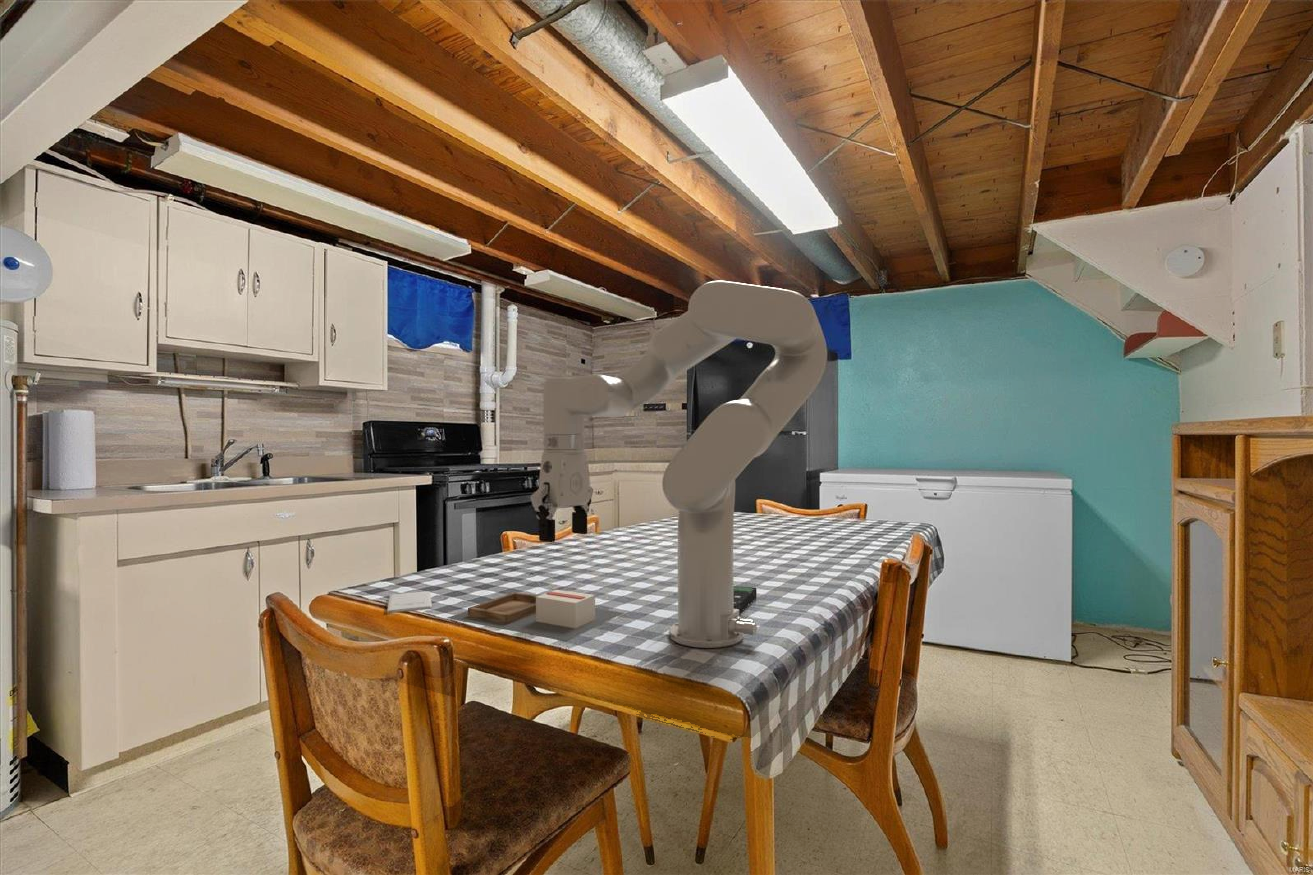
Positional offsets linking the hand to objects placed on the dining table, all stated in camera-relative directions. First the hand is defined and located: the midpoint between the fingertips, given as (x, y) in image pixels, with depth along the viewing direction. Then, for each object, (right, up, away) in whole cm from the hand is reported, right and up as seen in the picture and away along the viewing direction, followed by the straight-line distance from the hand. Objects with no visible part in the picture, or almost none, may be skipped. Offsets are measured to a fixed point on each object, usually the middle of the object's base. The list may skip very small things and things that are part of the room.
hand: (563, 537), depth 112 cm
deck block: (0, -15, 0) cm, 15 cm away
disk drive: (+31, -16, +12) cm, 37 cm away
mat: (-6, -16, +3) cm, 17 cm away
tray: (-11, -15, +6) cm, 20 cm away
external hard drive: (-34, -17, +13) cm, 40 cm away
